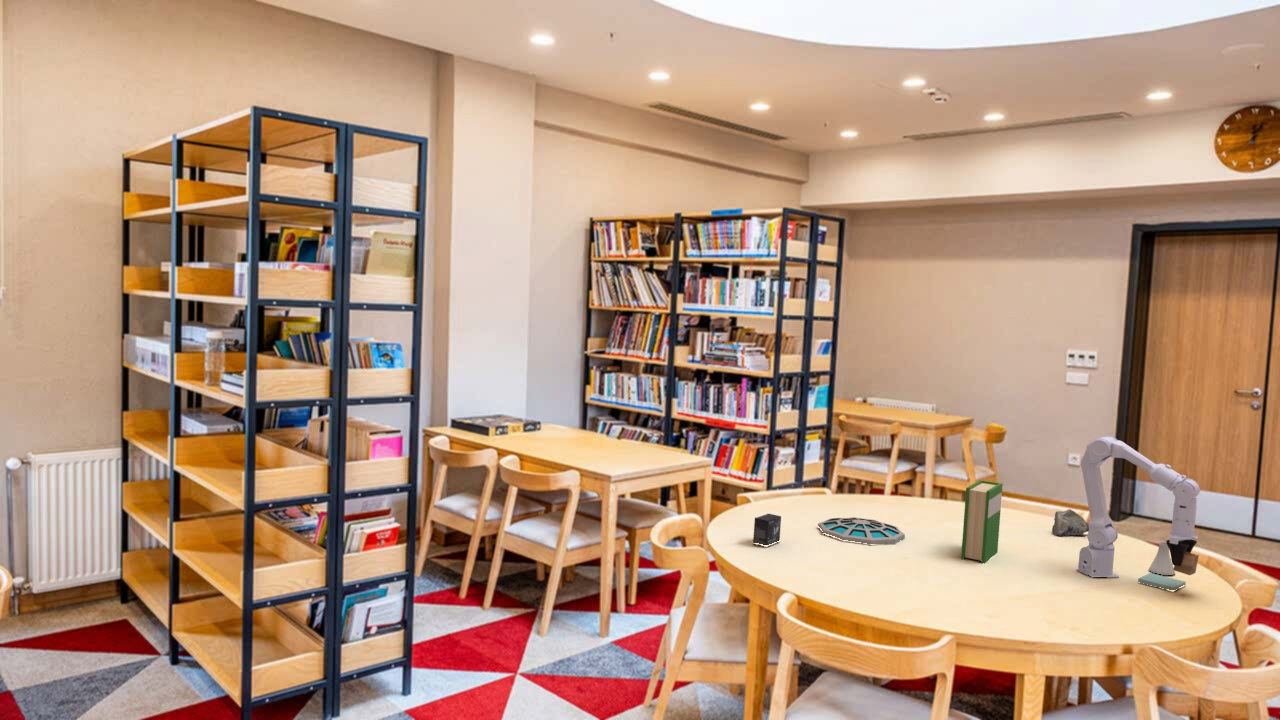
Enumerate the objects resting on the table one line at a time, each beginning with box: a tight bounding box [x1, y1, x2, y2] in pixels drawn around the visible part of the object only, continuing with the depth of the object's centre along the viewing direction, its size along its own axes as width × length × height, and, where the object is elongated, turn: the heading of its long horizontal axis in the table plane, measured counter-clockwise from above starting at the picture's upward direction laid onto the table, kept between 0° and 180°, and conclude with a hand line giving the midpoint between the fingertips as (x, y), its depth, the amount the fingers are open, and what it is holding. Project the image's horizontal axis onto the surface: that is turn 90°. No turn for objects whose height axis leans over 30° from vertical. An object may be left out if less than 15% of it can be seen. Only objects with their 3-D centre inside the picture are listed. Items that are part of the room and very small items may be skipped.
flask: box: [1147, 541, 1176, 576], centre depth 277 cm, size 7×7×10 cm
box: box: [752, 513, 782, 545], centre depth 291 cm, size 9×6×10 cm, turn 143°
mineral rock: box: [1051, 508, 1089, 537], centre depth 321 cm, size 13×11×10 cm
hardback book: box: [960, 480, 1003, 564], centre depth 288 cm, size 18×7×24 cm, turn 144°
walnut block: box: [1173, 552, 1200, 576], centre depth 256 cm, size 4×4×6 cm
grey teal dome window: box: [817, 516, 906, 545], centre depth 310 cm, size 31×29×5 cm
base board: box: [1137, 572, 1187, 590], centre depth 265 cm, size 10×10×2 cm
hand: (1179, 563), depth 257 cm, fingers closed on walnut block, 4 cm apart
